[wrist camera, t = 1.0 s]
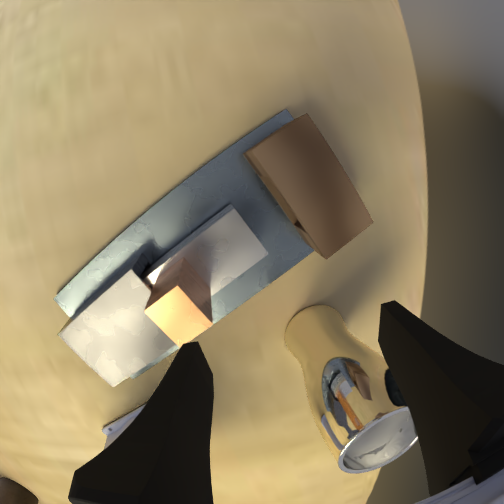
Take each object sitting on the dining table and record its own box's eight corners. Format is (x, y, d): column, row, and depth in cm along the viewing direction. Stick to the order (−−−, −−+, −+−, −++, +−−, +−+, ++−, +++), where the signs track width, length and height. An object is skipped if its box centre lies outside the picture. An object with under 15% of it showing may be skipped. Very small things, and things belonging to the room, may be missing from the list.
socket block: (305, 243, 26) (325, 259, 21) (242, 153, 23) (251, 150, 18) (346, 212, 25) (373, 222, 21) (288, 122, 23) (307, 113, 18)
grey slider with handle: (118, 350, 25) (97, 409, 17) (88, 319, 24) (55, 372, 16) (261, 243, 24) (287, 280, 17) (230, 203, 23) (244, 222, 15)
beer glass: (286, 298, 28) (357, 415, 13) (353, 300, 29) (447, 394, 15) (274, 361, 29) (321, 483, 15) (337, 359, 31) (405, 462, 16)
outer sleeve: (134, 374, 28) (125, 407, 23) (56, 295, 24) (33, 319, 19) (352, 216, 26) (381, 227, 22) (283, 110, 23) (302, 98, 18)
